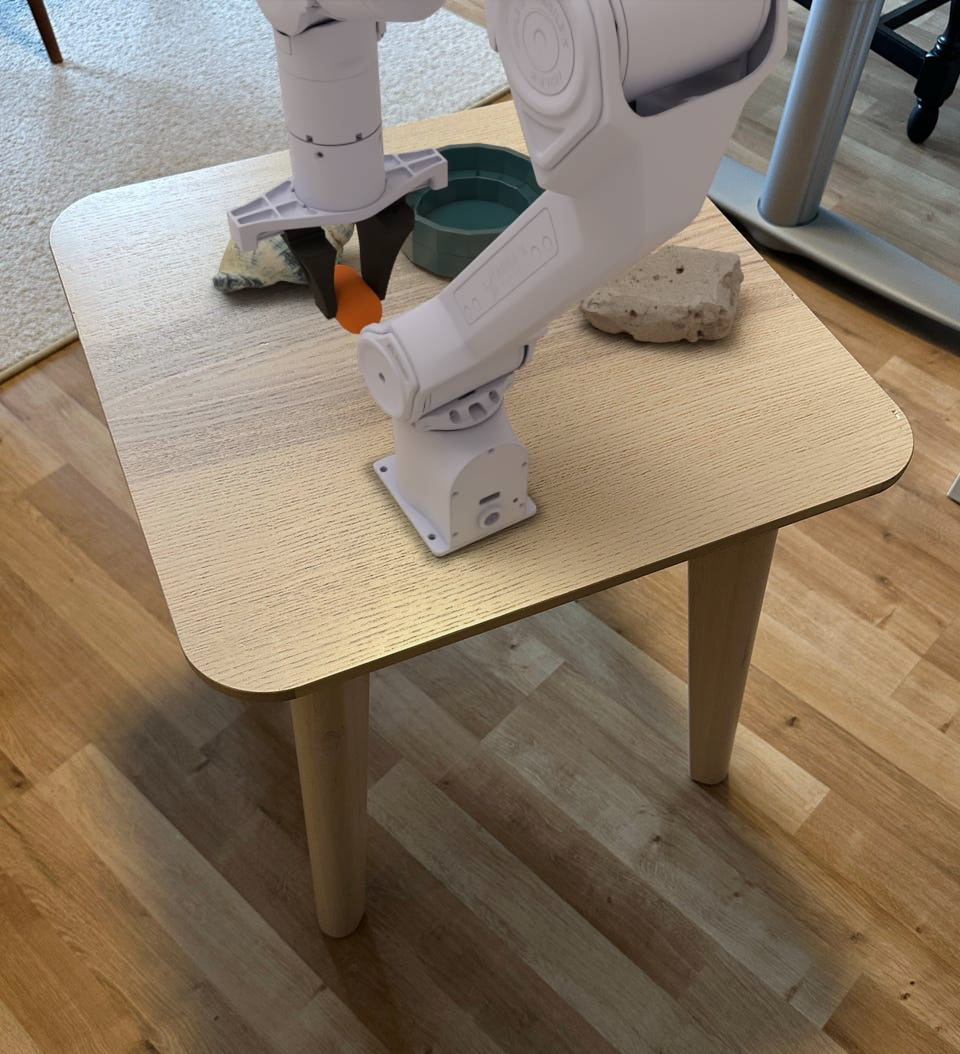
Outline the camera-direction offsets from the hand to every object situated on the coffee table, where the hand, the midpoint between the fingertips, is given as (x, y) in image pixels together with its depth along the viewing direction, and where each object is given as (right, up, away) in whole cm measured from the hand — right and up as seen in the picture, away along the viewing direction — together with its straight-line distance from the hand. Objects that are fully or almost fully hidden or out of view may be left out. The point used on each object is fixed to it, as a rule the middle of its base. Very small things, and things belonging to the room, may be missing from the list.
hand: (350, 301), depth 75 cm
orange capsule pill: (0, -1, +1) cm, 1 cm away
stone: (+23, +2, +13) cm, 27 cm away
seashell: (-7, +5, +15) cm, 17 cm away
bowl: (+8, +10, +19) cm, 23 cm away
